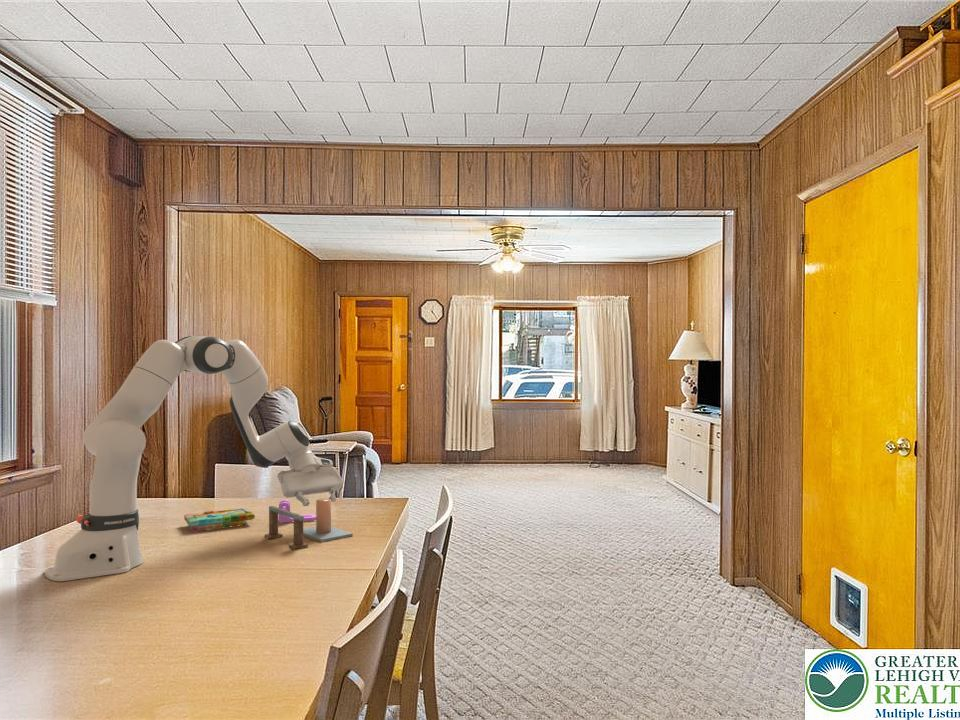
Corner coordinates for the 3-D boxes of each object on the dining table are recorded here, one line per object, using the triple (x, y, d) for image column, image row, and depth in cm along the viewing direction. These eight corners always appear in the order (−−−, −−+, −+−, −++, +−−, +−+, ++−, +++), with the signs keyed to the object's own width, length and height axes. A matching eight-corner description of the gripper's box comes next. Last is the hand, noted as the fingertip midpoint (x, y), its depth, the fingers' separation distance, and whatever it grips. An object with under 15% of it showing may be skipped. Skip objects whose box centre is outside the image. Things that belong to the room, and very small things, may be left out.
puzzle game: (184, 512, 226) (246, 505, 237) (184, 526, 226) (246, 519, 237) (190, 519, 216) (254, 512, 227) (190, 534, 216) (254, 526, 227)
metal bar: (299, 521, 198) (299, 516, 198) (268, 510, 213) (268, 506, 213) (303, 520, 199) (303, 516, 199) (272, 509, 214) (272, 505, 214)
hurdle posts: (295, 549, 197) (295, 521, 197) (264, 536, 212) (264, 510, 212) (307, 546, 200) (308, 519, 200) (276, 534, 214) (276, 509, 214)
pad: (321, 542, 205) (321, 539, 205) (295, 532, 217) (295, 530, 217) (352, 536, 212) (352, 533, 212) (326, 527, 224) (326, 524, 224)
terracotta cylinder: (320, 534, 211) (320, 502, 211) (313, 531, 215) (313, 500, 215) (333, 531, 214) (333, 500, 214) (326, 529, 218) (326, 498, 218)
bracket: (278, 523, 230) (278, 503, 230) (278, 520, 235) (278, 499, 235) (318, 521, 233) (318, 501, 233) (317, 517, 239) (317, 497, 239)
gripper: (278, 465, 215) (293, 501, 207) (336, 459, 228) (351, 492, 221) (272, 478, 218) (286, 513, 211) (329, 471, 232) (344, 504, 224)
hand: (320, 503), depth 216 cm, fingers open, 8 cm apart
